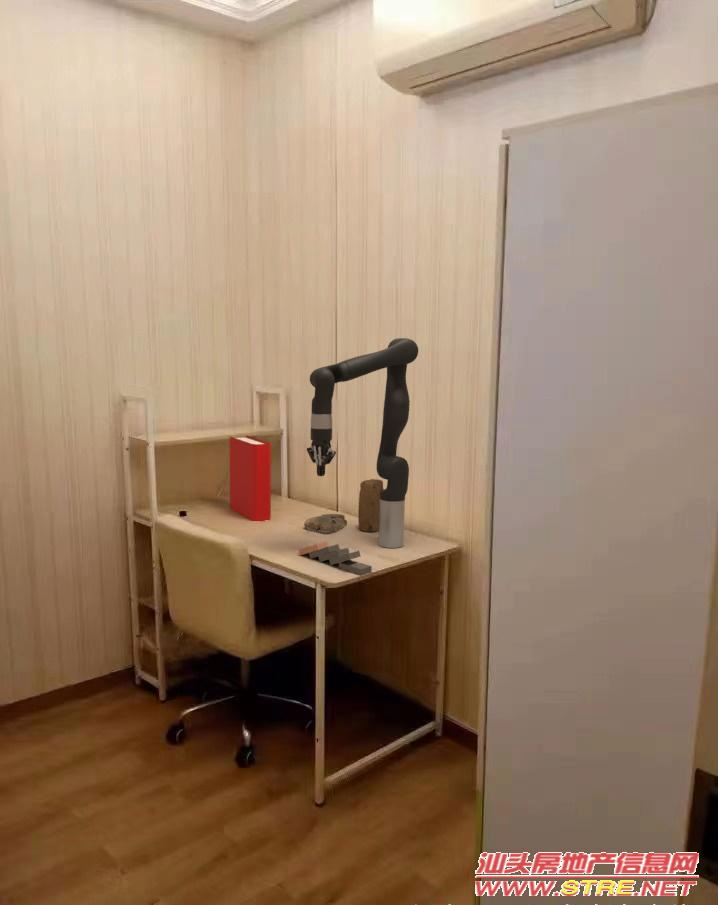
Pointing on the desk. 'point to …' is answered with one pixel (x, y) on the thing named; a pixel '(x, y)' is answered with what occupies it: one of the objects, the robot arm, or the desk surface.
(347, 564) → the domino
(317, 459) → the robot arm
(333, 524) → the flat rock
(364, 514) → the block
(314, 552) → the domino
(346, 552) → the domino
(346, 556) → the domino
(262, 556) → the desk surface
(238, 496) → the book
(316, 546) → the domino
